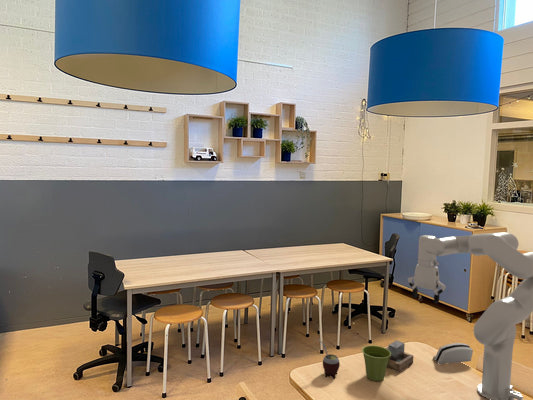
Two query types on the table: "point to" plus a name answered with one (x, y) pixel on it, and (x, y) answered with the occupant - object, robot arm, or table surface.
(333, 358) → the mate gourd
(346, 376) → the table surface
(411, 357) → the square wooden tray
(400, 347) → the grey block
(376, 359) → the plant pot
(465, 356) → the grey rounded block
